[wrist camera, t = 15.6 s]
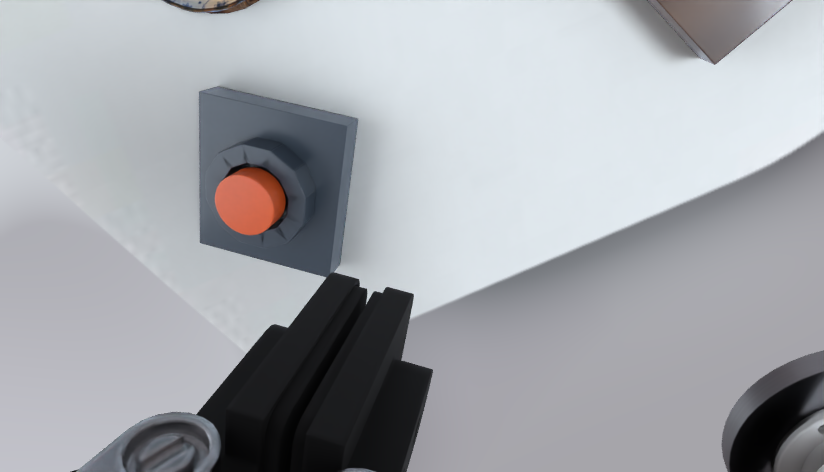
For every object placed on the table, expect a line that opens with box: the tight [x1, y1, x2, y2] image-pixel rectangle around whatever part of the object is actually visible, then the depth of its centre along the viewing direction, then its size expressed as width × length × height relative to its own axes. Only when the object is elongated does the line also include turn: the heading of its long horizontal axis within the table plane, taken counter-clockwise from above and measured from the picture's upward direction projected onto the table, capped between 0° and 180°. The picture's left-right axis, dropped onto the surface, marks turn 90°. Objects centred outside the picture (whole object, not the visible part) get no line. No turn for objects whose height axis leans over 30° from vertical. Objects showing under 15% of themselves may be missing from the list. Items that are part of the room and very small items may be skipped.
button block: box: [199, 87, 358, 277], centre depth 37 cm, size 11×10×4 cm
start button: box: [215, 167, 286, 235], centre depth 34 cm, size 4×4×2 cm
